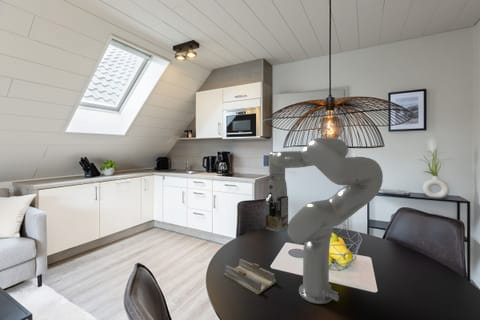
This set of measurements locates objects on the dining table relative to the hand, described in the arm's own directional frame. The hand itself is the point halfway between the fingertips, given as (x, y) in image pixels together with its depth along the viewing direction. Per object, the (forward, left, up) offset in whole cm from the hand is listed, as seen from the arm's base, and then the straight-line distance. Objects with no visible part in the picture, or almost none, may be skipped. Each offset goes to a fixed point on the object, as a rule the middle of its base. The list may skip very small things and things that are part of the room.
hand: (277, 214), depth 114 cm
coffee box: (0, 0, -8) cm, 8 cm away
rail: (+2, +18, -25) cm, 31 cm away
